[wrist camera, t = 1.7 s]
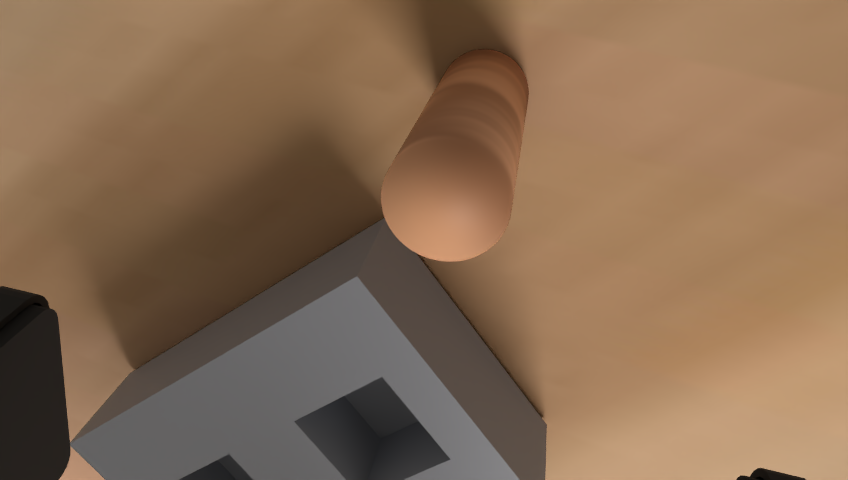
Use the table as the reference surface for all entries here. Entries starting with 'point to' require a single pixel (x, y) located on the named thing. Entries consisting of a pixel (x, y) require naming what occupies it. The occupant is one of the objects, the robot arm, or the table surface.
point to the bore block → (325, 387)
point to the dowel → (460, 161)
